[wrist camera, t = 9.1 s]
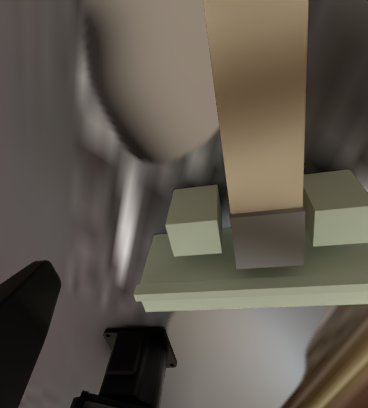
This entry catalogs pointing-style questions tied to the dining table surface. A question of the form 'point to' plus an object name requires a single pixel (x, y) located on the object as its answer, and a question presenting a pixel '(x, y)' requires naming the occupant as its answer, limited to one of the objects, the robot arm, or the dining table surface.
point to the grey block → (260, 277)
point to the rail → (262, 123)
